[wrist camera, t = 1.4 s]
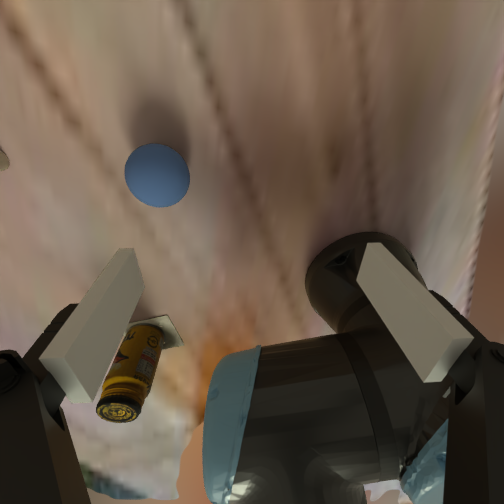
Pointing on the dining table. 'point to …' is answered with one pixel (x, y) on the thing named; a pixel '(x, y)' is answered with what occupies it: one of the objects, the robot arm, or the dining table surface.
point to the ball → (157, 175)
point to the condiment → (135, 368)
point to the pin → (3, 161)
